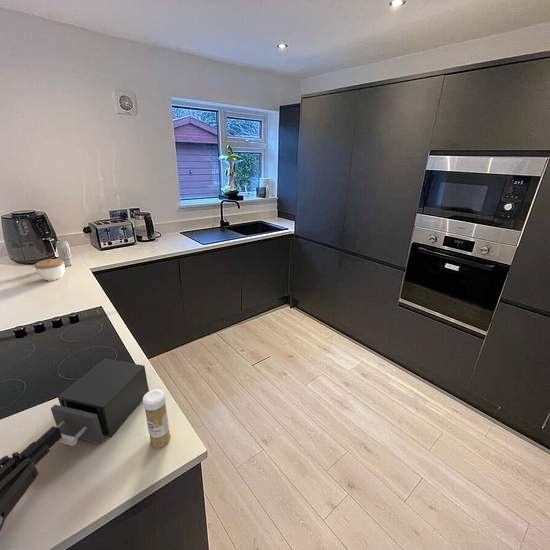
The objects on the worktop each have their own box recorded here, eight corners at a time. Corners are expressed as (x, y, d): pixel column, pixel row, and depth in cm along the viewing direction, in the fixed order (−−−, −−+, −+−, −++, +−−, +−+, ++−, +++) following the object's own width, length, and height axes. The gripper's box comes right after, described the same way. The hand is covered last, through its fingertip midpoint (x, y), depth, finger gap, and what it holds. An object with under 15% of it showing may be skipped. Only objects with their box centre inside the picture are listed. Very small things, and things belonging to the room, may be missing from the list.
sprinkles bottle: (146, 447, 66) (138, 403, 61) (156, 430, 70) (148, 387, 65) (166, 449, 66) (158, 405, 61) (174, 432, 70) (168, 389, 65)
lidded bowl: (38, 285, 147) (32, 264, 143) (39, 277, 157) (33, 258, 153) (68, 279, 154) (63, 260, 150) (67, 272, 164) (62, 254, 160)
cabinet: (111, 437, 68) (103, 407, 65) (67, 426, 71) (57, 396, 67) (149, 393, 81) (144, 365, 78) (111, 385, 84) (104, 358, 80)
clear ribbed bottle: (64, 267, 171) (58, 243, 166) (59, 265, 174) (53, 241, 168) (75, 264, 176) (69, 241, 170) (70, 262, 179) (64, 239, 173)
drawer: (84, 461, 62) (76, 435, 59) (41, 449, 64) (31, 424, 61) (138, 399, 78) (134, 376, 75) (102, 392, 80) (97, 369, 77)
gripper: (-119, 576, 42) (37, 437, 64) (-53, 607, 40) (87, 451, 61) (-146, 547, 39) (27, 411, 61) (-77, 578, 37) (79, 425, 58)
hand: (57, 431), depth 61 cm, fingers closed
